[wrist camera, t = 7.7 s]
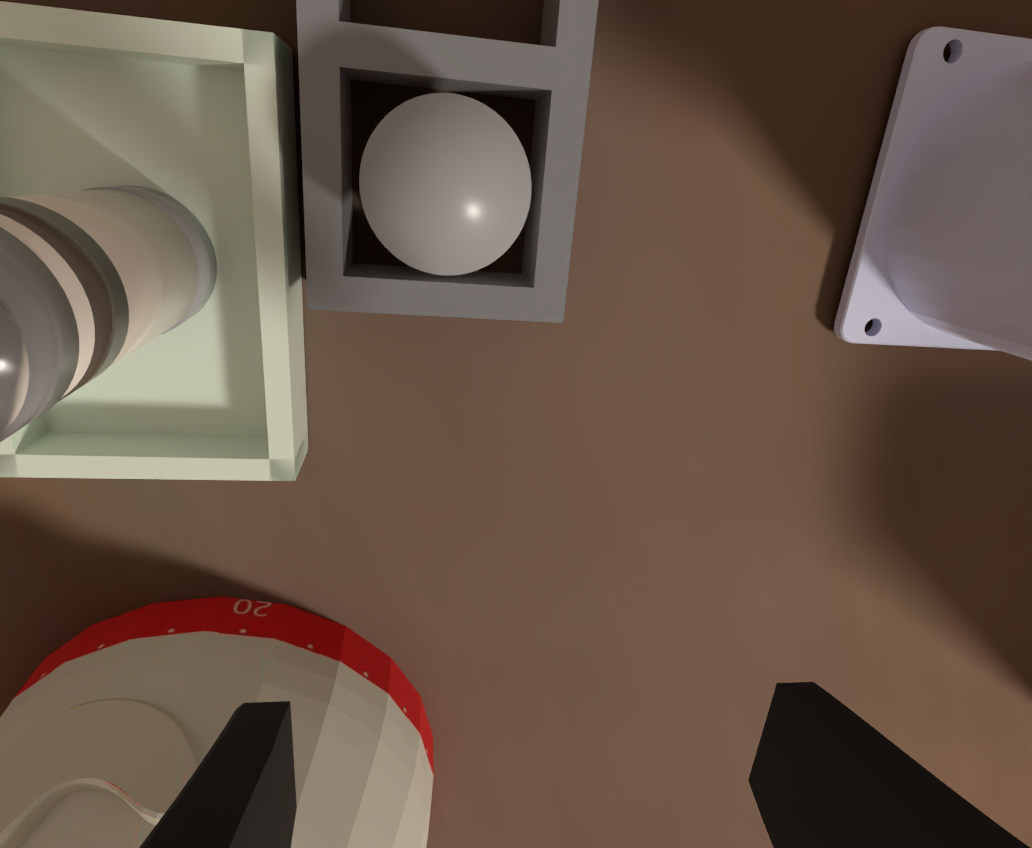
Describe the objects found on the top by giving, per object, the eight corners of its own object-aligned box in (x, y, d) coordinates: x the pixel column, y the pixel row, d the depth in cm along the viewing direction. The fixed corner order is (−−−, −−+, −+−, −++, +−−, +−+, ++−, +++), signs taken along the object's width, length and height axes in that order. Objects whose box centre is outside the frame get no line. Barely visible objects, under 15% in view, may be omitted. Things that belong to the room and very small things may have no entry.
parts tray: (292, 49, 15) (272, 32, 13) (308, 449, 18) (295, 480, 16) (-52, 10, 14) (-127, -13, 12) (38, 443, 17) (-9, 476, 15)
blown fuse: (215, 196, 15) (15, 227, 8) (218, 333, 16) (47, 474, 9) (60, 174, 14) (-318, 184, 7) (74, 318, 16) (-238, 455, 8)
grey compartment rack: (598, -211, 14) (664, -355, 10) (547, 304, 18) (580, 342, 14) (306, -264, 13) (256, -446, 9) (321, 292, 17) (291, 328, 13)
